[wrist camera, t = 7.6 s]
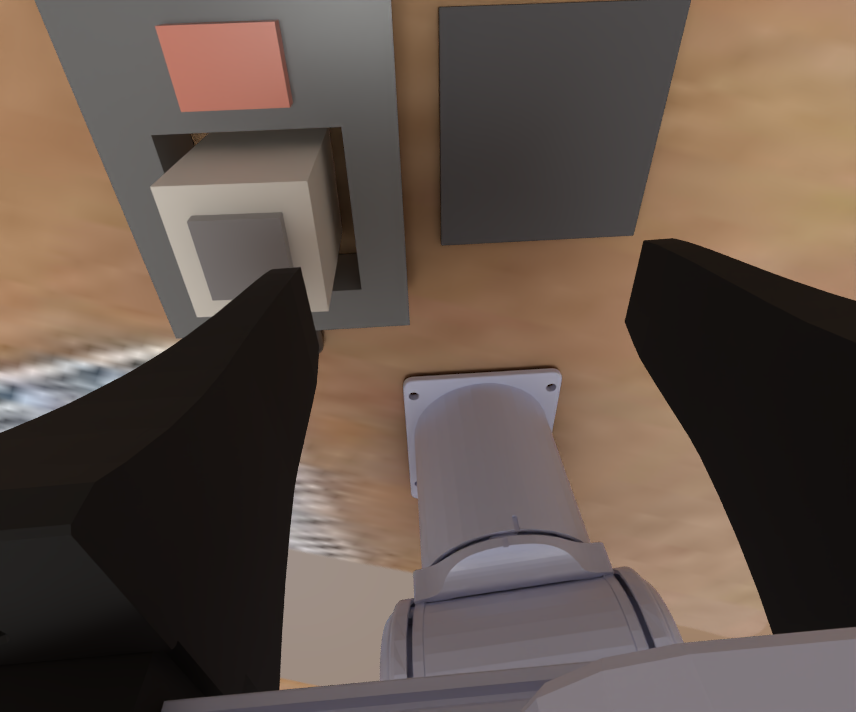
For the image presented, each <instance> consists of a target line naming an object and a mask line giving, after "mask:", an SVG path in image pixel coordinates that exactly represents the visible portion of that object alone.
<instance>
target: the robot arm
mask: <svg viewBox="0 0 856 712" xmlns="http://www.w3.org/2000/svg"><path fill="white" fill-rule="evenodd" d="M625 324H626V326H627V329H628V331H629V334H630V336H631V339H632V341H633V344H634V346H635V348H636V351H637V353H638V355H639V357H640V359H641V361H642V363H643V364H644V366H645V368H646V369H647V371H648V372H649V374H650V376H651V377H652V379H653V381H654V382H655V384H656V385H657V387H658V389H659V390H660V392H661V393H662V395H663V396H664V398H665V400H666V401H667V403H668V404H669V406H670V408H671V409H672V411H673V412H674V414H675V415H676V417H677V419H678V420H679V422H680V423H681V425H682V426H683V428H684V430H685V431H686V433H687V434H688V436H689V438H690V439H691V441H692V443H693V445H694V446H695V448H696V450H697V452H698V454H699V455H700V457H701V459H702V462H703V464H704V466H705V468H706V470H707V472H708V474H709V476H710V478H711V480H712V483H713V485H714V487H715V489H716V491H717V493H718V495H719V497H720V500H721V502H722V504H723V507H724V509H725V511H726V514H727V516H728V518H729V520H730V523H731V525H732V527H733V530H734V532H735V534H736V537H737V539H738V541H739V544H740V547H741V549H742V552H743V554H744V557H745V559H746V562H747V564H748V567H749V570H750V572H751V575H752V577H753V580H754V582H755V585H756V588H757V590H758V593H759V596H760V598H761V601H762V604H763V607H764V610H765V613H766V616H767V619H768V622H769V624H770V627H771V630H772V633H773V635H764V636H753V637H742V638H731V639H720V640H709V641H699V642H688V643H684V642H683V640H682V637H681V635H680V633H679V630H678V628H677V626H676V624H675V622H674V620H673V617H672V615H671V613H670V612H669V610H668V608H667V606H666V604H665V603H664V601H663V599H662V598H661V596H660V595H659V593H658V592H657V591H656V589H655V588H654V587H653V586H652V585H651V584H650V583H648V582H647V581H646V580H644V579H643V578H642V577H640V575H639V574H638V573H637V572H635V571H634V570H633V569H631V568H629V567H619V568H612V566H611V563H610V561H609V558H608V555H607V553H606V550H605V547H604V545H603V543H602V542H594V543H591V542H590V539H589V537H588V534H587V531H586V528H585V525H584V523H583V520H582V517H581V514H580V511H579V508H578V506H577V503H576V500H575V497H574V494H573V491H572V489H571V486H570V483H569V480H568V477H567V475H566V472H565V469H564V466H563V463H562V460H561V458H560V455H559V452H558V449H557V446H556V443H555V441H554V438H553V435H552V430H553V425H554V420H555V414H556V409H557V403H558V398H559V393H560V387H561V382H562V375H561V373H560V371H559V370H557V369H554V368H548V369H532V370H515V371H499V372H483V373H466V374H450V375H434V376H418V377H409V378H407V379H406V380H405V381H404V383H403V391H404V405H405V418H406V431H407V445H408V458H409V471H410V484H411V495H412V496H413V497H414V498H417V499H418V509H419V526H420V543H421V561H422V569H419V570H415V571H414V572H413V576H414V598H412V599H405V600H401V601H399V602H398V603H397V605H396V606H395V609H394V612H393V613H392V614H391V616H390V617H389V619H388V620H387V622H386V624H385V627H384V631H383V636H382V644H381V657H380V681H373V682H363V683H351V684H341V685H330V686H319V687H308V688H298V689H287V690H279V686H280V664H281V642H282V626H283V610H284V596H285V595H284V594H285V580H286V569H287V557H288V546H289V535H290V525H291V516H292V506H293V497H294V488H295V482H296V477H297V471H298V466H299V462H300V457H301V453H302V448H303V444H304V439H305V435H306V431H307V426H308V422H309V417H310V413H311V408H312V404H313V399H314V394H315V389H316V385H317V373H318V359H319V343H318V339H317V334H316V330H315V326H314V322H313V317H312V313H311V309H310V304H309V300H308V296H307V292H306V287H305V283H304V279H303V275H302V270H301V267H294V268H281V269H271V270H269V271H268V272H266V273H265V274H264V275H262V276H261V277H260V278H258V279H257V280H256V281H255V282H253V283H252V284H251V285H250V286H249V287H247V288H246V289H245V290H244V291H243V292H242V293H240V294H239V295H238V296H237V297H235V298H234V299H233V300H232V301H231V302H229V303H228V304H227V305H226V306H225V307H223V308H222V309H221V310H220V311H219V312H217V313H216V314H215V315H214V316H212V317H211V318H209V319H208V320H207V321H205V322H204V323H203V324H201V325H200V326H199V327H197V328H196V329H195V330H193V331H192V332H191V333H189V334H188V335H187V336H185V337H184V338H183V339H181V340H180V341H179V342H177V343H176V344H174V345H173V346H171V347H170V348H168V349H167V350H165V351H164V352H162V353H161V354H159V355H157V356H156V357H154V358H153V359H151V360H149V361H148V362H146V363H144V364H143V365H141V366H139V367H138V368H136V369H134V370H133V371H131V372H129V373H127V374H126V375H124V376H122V377H120V378H118V379H116V380H114V381H112V382H110V383H108V384H106V385H104V386H102V387H100V388H99V389H97V390H95V391H93V392H91V393H89V394H87V395H85V396H83V397H81V398H79V399H77V400H75V401H73V402H71V403H69V404H67V405H65V406H62V407H60V408H58V409H56V410H53V411H51V412H49V413H47V414H44V415H42V416H40V417H38V418H35V419H33V420H31V421H28V422H26V423H23V424H21V425H19V426H16V427H14V428H11V429H9V430H6V431H4V432H2V433H0V712H856V301H855V300H851V299H848V298H844V297H841V296H838V295H835V294H831V293H828V292H825V291H822V290H819V289H816V288H813V287H810V286H807V285H804V284H801V283H798V282H795V281H793V280H790V279H787V278H784V277H781V276H779V275H776V274H773V273H771V272H768V271H765V270H763V269H760V268H757V267H755V266H752V265H749V264H747V263H744V262H742V261H739V260H736V259H734V258H731V257H729V256H726V255H723V254H721V253H718V252H715V251H713V250H710V249H707V248H704V247H701V246H699V245H696V244H693V243H689V242H686V241H682V240H678V239H673V238H671V239H658V240H645V241H643V245H642V250H641V254H640V258H639V263H638V267H637V271H636V275H635V280H634V284H633V288H632V293H631V297H630V301H629V306H628V310H627V314H626V318H625ZM549 384H553V385H552V386H549V387H548V385H549ZM413 392H414V393H417V394H416V395H411V394H410V393H413Z"/></svg>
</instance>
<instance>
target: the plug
mask: <svg viewBox="0 0 856 712" xmlns="http://www.w3.org/2000/svg"><path fill="white" fill-rule="evenodd" d="M150 188H151V191H152V194H153V196H154V199H155V202H156V205H157V208H158V210H159V213H160V216H161V219H162V221H163V224H164V227H165V230H166V233H167V235H168V238H169V241H170V244H171V246H172V249H173V252H174V255H175V258H176V260H177V263H178V266H179V269H180V271H181V274H182V277H183V280H184V283H185V285H186V288H187V291H188V294H189V297H190V299H191V302H192V305H193V308H194V310H195V313H196V316H197V317H212V316H214V315H215V314H216V313H217V312H219V311H220V310H221V309H222V308H223V307H225V306H226V305H227V304H228V303H229V302H231V301H232V300H233V299H234V298H235V297H237V296H238V295H239V294H240V293H242V292H243V291H244V290H245V289H246V288H247V287H249V286H250V285H251V284H252V283H253V282H255V281H256V280H257V279H258V278H260V277H261V276H262V275H264V274H265V273H266V272H268V271H269V270H271V269H281V268H294V267H301V270H302V275H303V279H304V283H305V287H306V292H307V296H308V300H309V304H310V309H311V312H323V311H329V306H330V300H331V295H332V289H333V283H334V277H335V272H336V266H337V260H338V254H339V248H340V243H341V237H342V223H341V215H340V207H339V199H338V192H337V184H336V176H335V168H334V160H333V153H332V145H331V137H330V129H329V127H328V128H305V129H282V130H259V131H236V132H213V133H208V134H207V135H206V136H205V137H204V138H203V139H202V140H201V141H200V142H199V143H198V144H196V145H195V146H194V147H193V148H192V149H191V150H190V151H189V152H188V153H187V154H185V155H184V156H183V157H182V158H181V159H180V160H179V161H178V162H177V163H176V164H174V165H173V166H172V167H171V168H170V169H169V170H168V171H167V172H166V173H165V174H164V175H162V176H161V177H160V178H159V179H158V180H157V181H156V182H155V183H154V184H153V185H151V186H150Z"/></svg>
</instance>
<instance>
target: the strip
mask: <svg viewBox="0 0 856 712" xmlns="http://www.w3.org/2000/svg"><path fill="white" fill-rule="evenodd" d="M35 2H36V5H37V7H38V10H39V12H40V14H41V17H42V19H43V22H44V24H45V26H46V29H47V31H48V33H49V36H50V38H51V41H52V43H53V45H54V48H55V50H56V53H57V55H58V57H59V60H60V62H61V65H62V67H63V69H64V72H65V74H66V76H67V79H68V81H69V84H70V86H71V88H72V91H73V93H74V96H75V98H76V100H77V103H78V105H79V108H80V110H81V112H82V115H83V117H84V119H85V122H86V124H87V127H88V129H89V131H90V134H91V136H92V139H93V141H94V143H95V146H96V148H97V151H98V153H99V155H100V158H101V160H102V162H103V165H104V167H105V170H106V172H107V174H108V177H109V179H110V182H111V184H112V186H113V189H114V191H115V194H116V196H117V198H118V201H119V203H120V205H121V208H122V210H123V213H124V215H125V217H126V220H127V222H128V225H129V227H130V229H131V232H132V234H133V237H134V239H135V241H136V244H137V246H138V248H139V251H140V253H141V256H142V258H143V260H144V263H145V265H146V268H147V270H148V272H149V275H150V277H151V280H152V282H153V284H154V287H155V289H156V291H157V294H158V296H159V299H160V301H161V303H162V306H163V308H164V311H165V313H166V315H167V318H168V320H169V323H170V325H171V327H172V330H173V332H174V335H175V337H176V338H184V337H185V336H187V335H188V334H189V333H191V332H192V331H193V330H195V329H196V328H197V327H199V326H200V325H201V324H203V323H204V322H205V321H207V320H208V319H209V318H211V317H197V316H196V313H195V310H194V308H193V305H192V302H191V299H190V297H189V294H188V291H187V288H186V285H185V283H184V280H183V277H182V274H181V271H180V269H179V266H178V263H177V260H176V258H175V255H174V252H173V249H172V246H171V244H170V241H169V238H168V235H167V233H166V230H165V227H164V224H163V221H162V219H161V216H160V213H159V210H158V208H157V205H156V202H155V199H154V196H153V194H152V191H151V188H150V186H151V185H153V184H154V183H155V182H156V181H157V180H158V179H159V178H160V177H161V176H162V175H164V174H165V173H166V172H167V171H168V170H169V169H170V168H171V167H172V166H173V165H174V164H176V163H177V162H178V161H179V160H180V159H181V158H182V157H183V156H184V155H185V154H187V153H188V152H189V151H190V150H191V149H192V148H193V147H194V144H193V141H192V138H191V134H190V133H213V132H236V131H259V130H282V129H305V128H328V127H341V128H342V136H343V144H344V152H345V161H346V169H347V177H348V185H349V193H350V201H351V209H352V217H353V225H354V233H355V241H356V249H357V253H354V254H338V260H337V266H336V272H335V277H334V283H333V289H332V295H331V300H330V306H329V311H323V312H311V313H312V317H313V322H314V326H315V330H316V334H317V339H318V343H319V353H320V352H321V351H322V350H323V346H324V344H323V338H322V333H321V330H332V329H349V328H367V327H384V326H402V325H410V320H409V303H408V286H407V268H406V251H405V234H404V217H403V200H402V183H401V165H400V148H399V131H398V114H397V97H396V79H395V62H394V45H393V28H392V11H391V0H35Z"/></svg>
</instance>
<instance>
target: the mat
mask: <svg viewBox="0 0 856 712" xmlns="http://www.w3.org/2000/svg"><path fill="white" fill-rule="evenodd" d="M690 3H691V0H622V1H593V2H565V3H537V4H508V5H480V6H451V7H439V90H440V191H441V245H460V244H480V243H499V242H518V241H537V240H556V239H576V238H595V237H614V236H633V235H634V231H635V227H636V223H637V219H638V215H639V210H640V206H641V202H642V198H643V194H644V190H645V186H646V182H647V178H648V174H649V170H650V166H651V162H652V158H653V153H654V149H655V145H656V141H657V137H658V133H659V129H660V125H661V121H662V117H663V113H664V109H665V105H666V100H667V96H668V92H669V88H670V84H671V80H672V76H673V72H674V68H675V64H676V60H677V56H678V52H679V47H680V43H681V39H682V35H683V31H684V27H685V23H686V19H687V15H688V11H689V7H690Z"/></svg>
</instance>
